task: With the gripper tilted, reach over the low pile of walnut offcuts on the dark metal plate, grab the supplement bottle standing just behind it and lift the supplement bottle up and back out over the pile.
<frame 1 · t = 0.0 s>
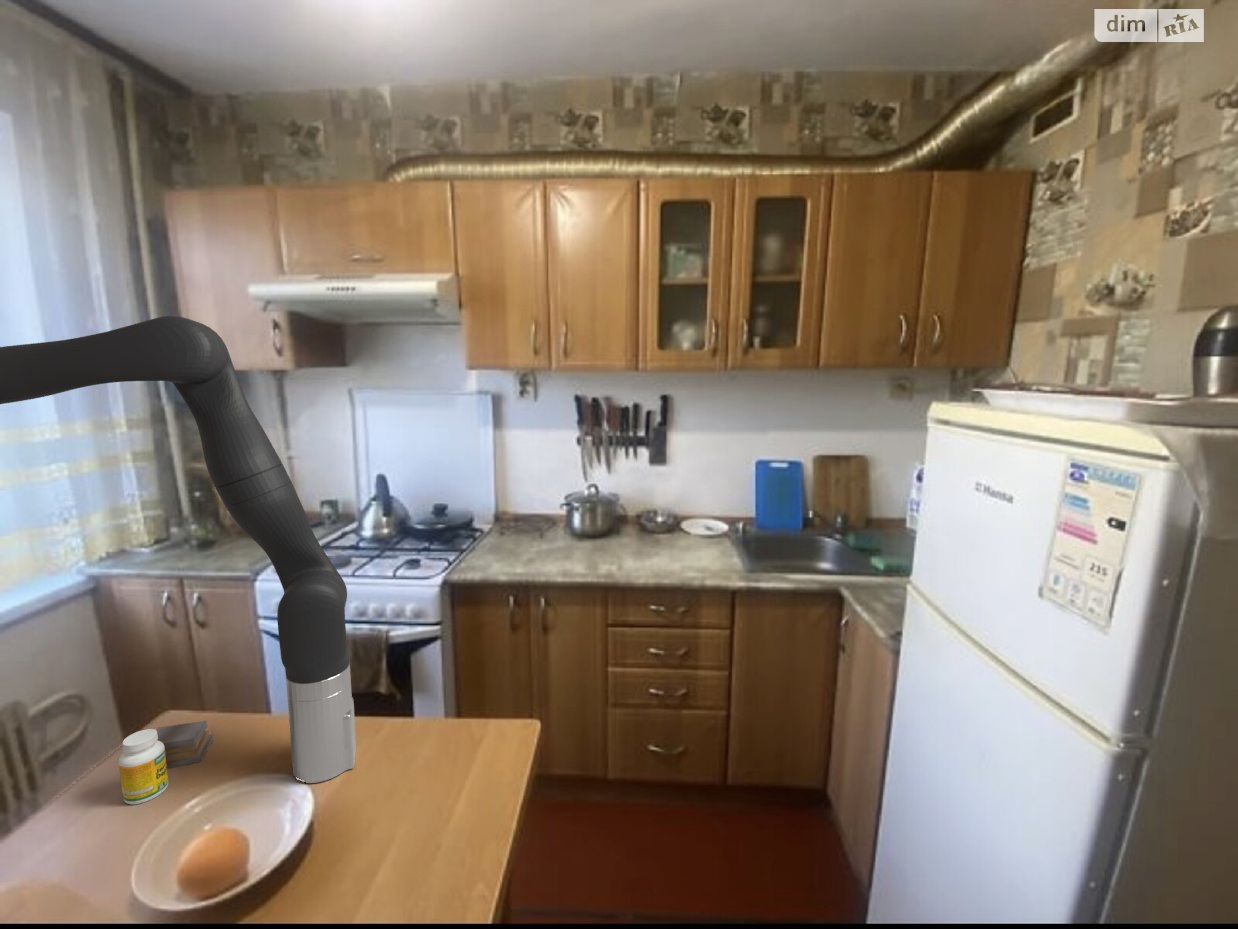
supplement bottle: (146, 794, 84), on the table
offcut stack: (176, 755, 92), on the table
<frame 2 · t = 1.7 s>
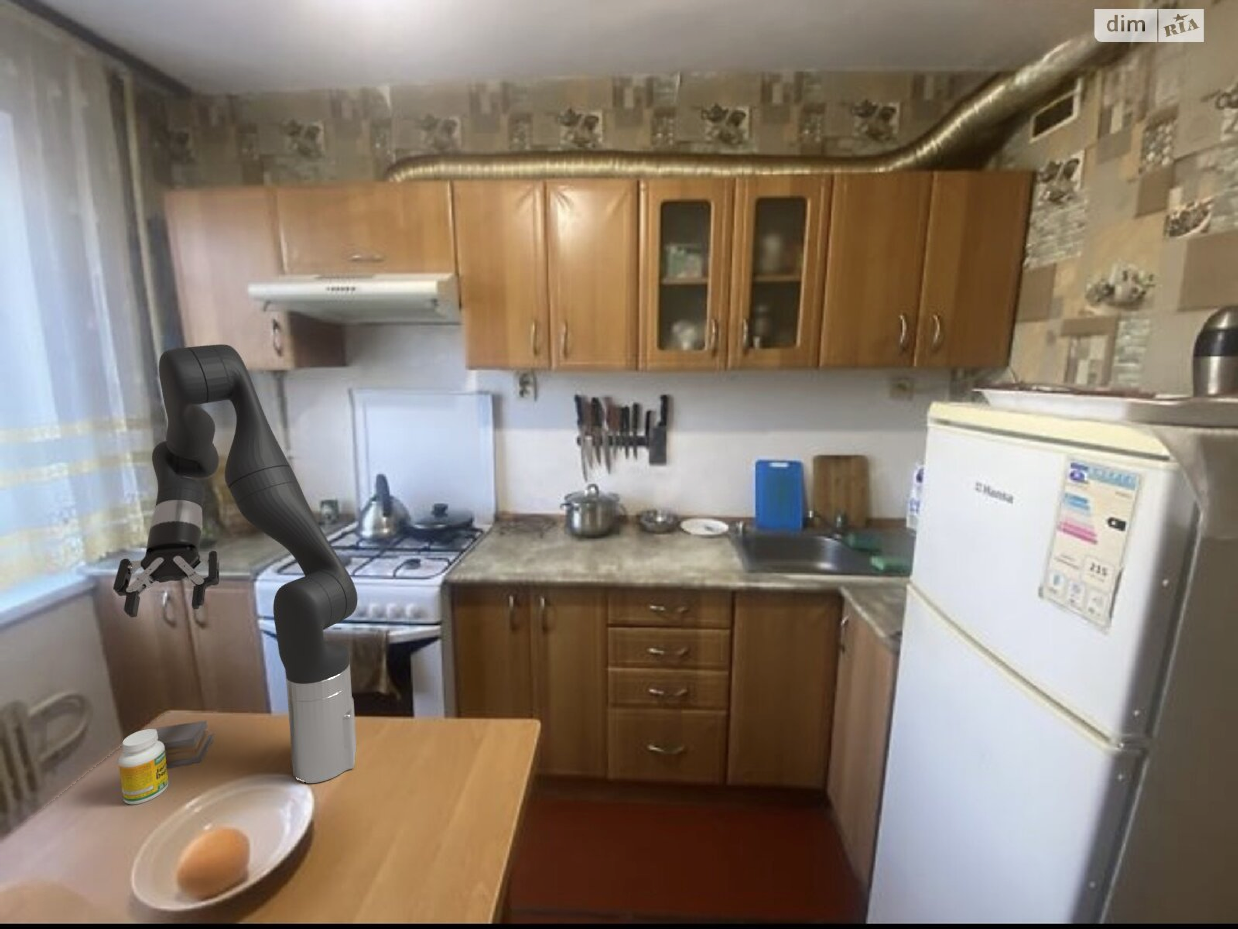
hand: (164, 611, 92), 25 cm above the table, tool tilted 45°, fingers open, 8 cm apart
nothing on the table moved.
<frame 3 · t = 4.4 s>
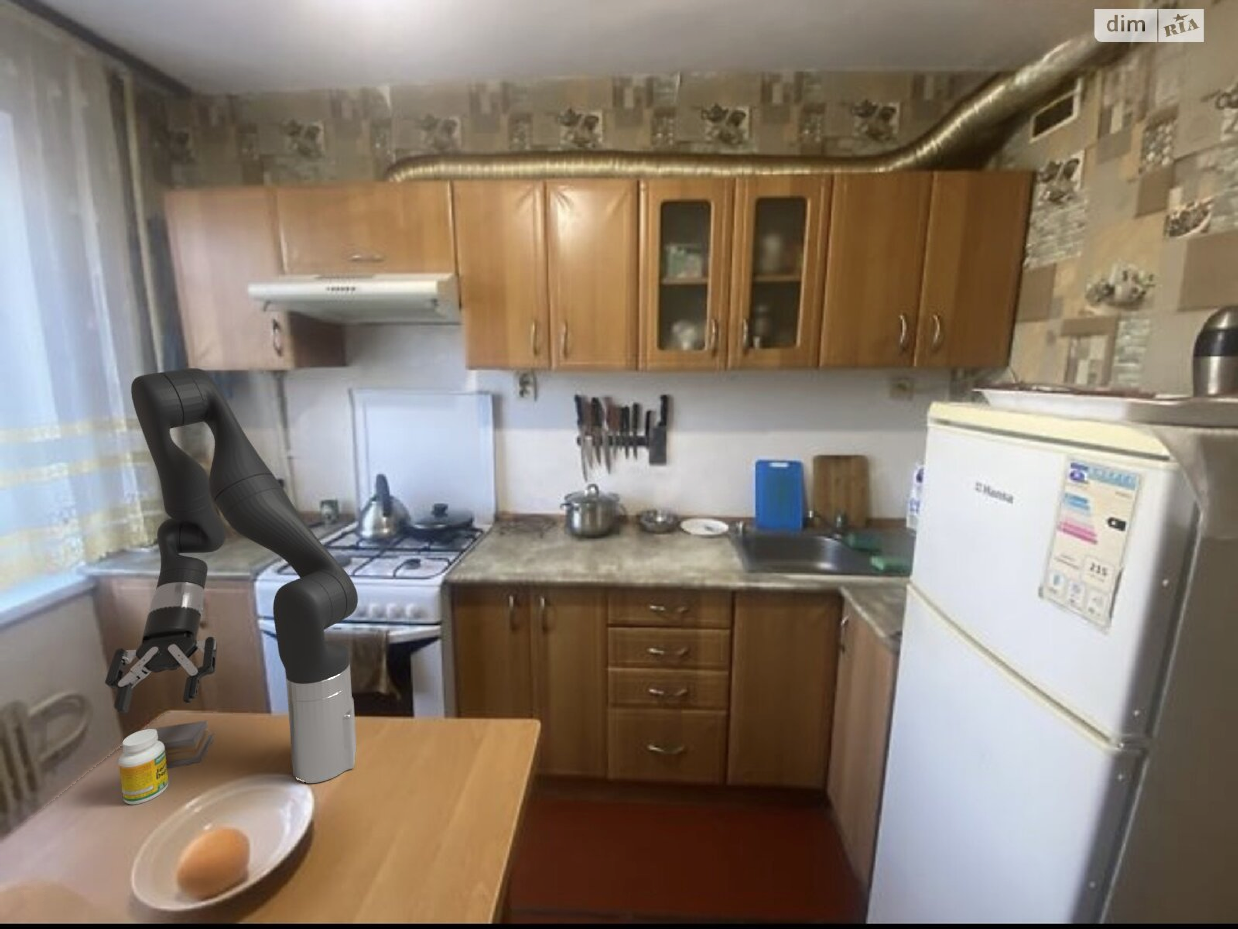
hand: (155, 706, 88), 11 cm above the table, tool tilted 45°, fingers open, 8 cm apart
nothing on the table moved.
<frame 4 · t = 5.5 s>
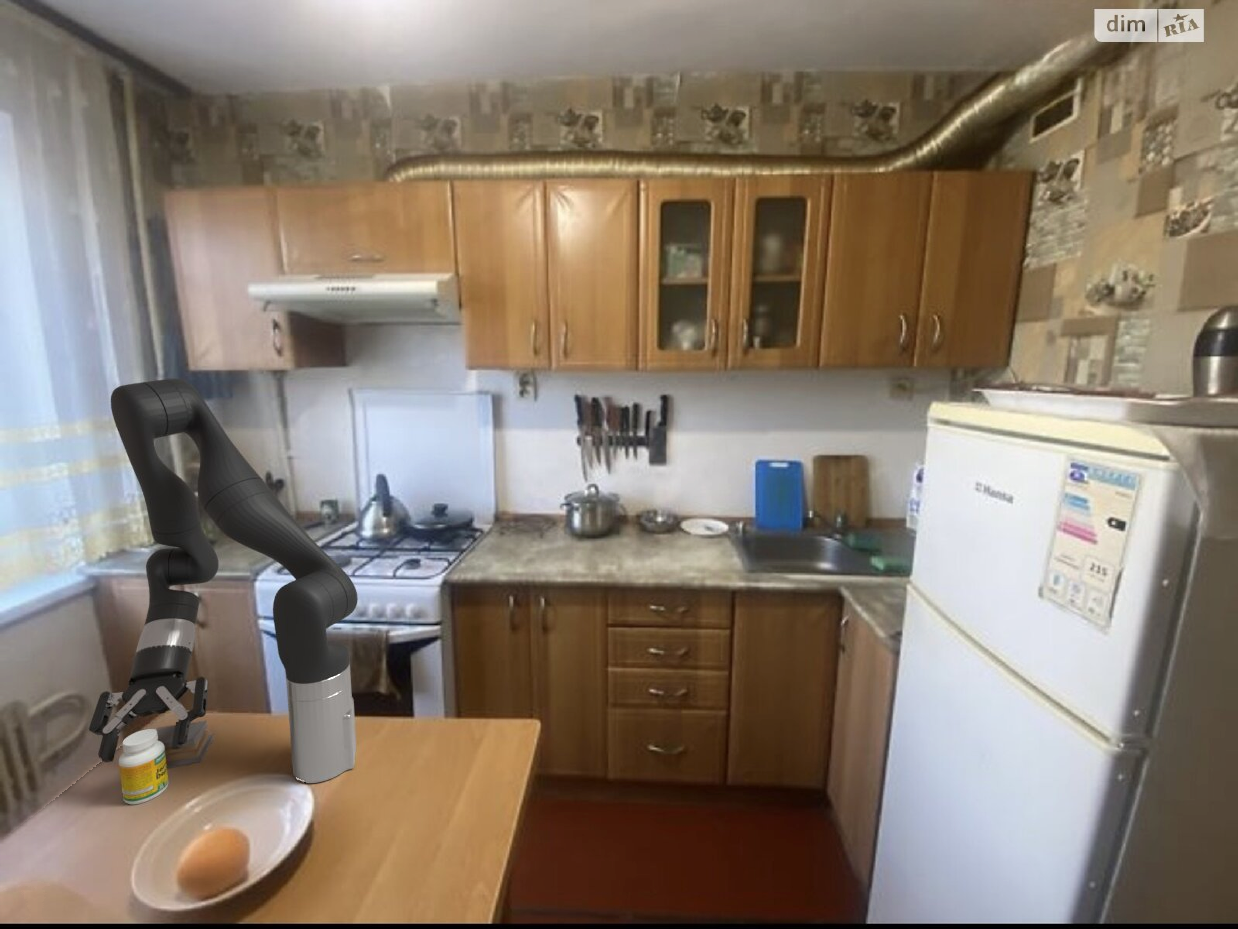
hand: (142, 754, 83), 6 cm above the table, tool tilted 45°, fingers open, 8 cm apart
nothing on the table moved.
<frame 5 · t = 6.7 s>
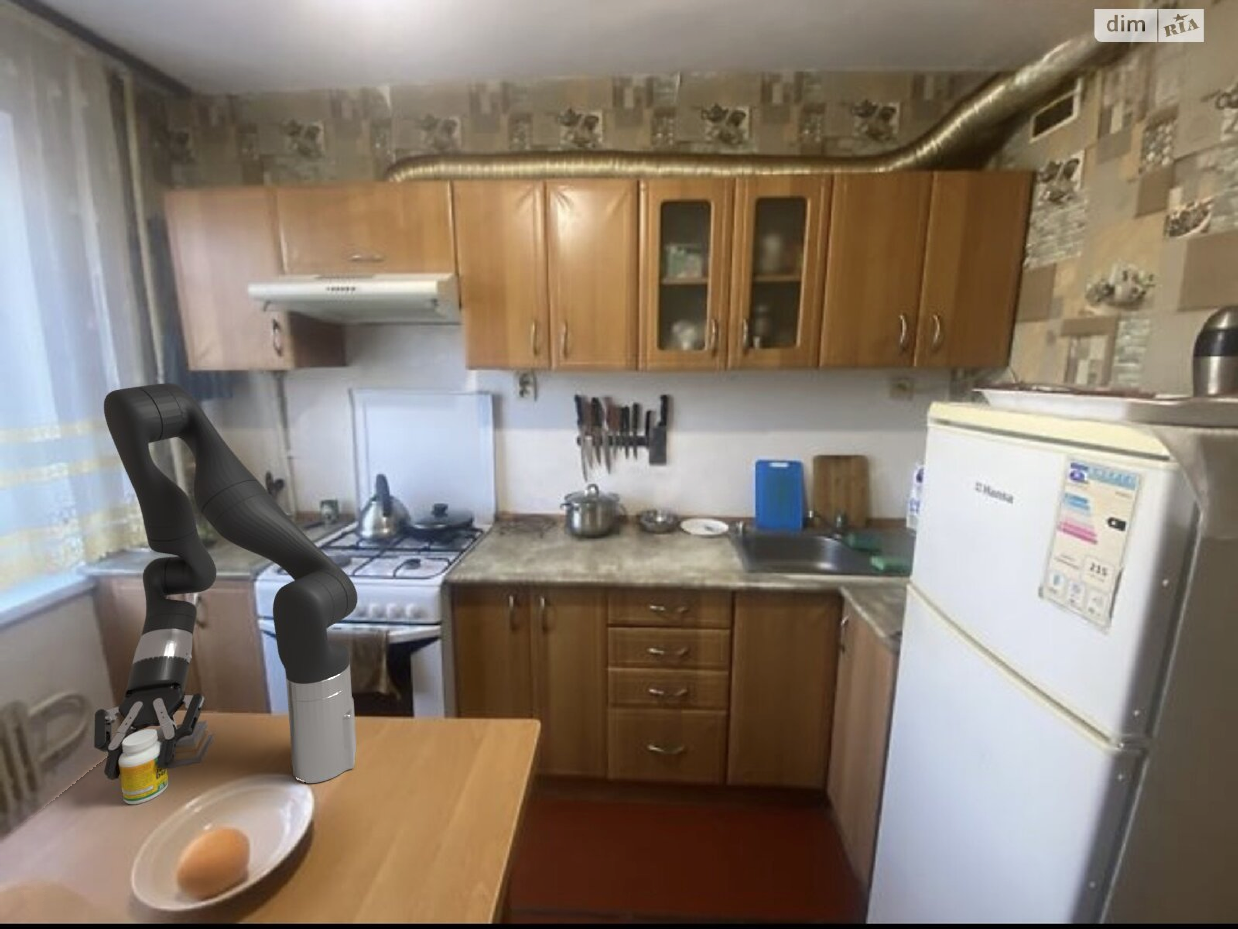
hand: (138, 772, 81), 5 cm above the table, tool tilted 45°, fingers closed on supplement bottle, 5 cm apart
supplement bottle: (146, 794, 84), on the table, touching gripper
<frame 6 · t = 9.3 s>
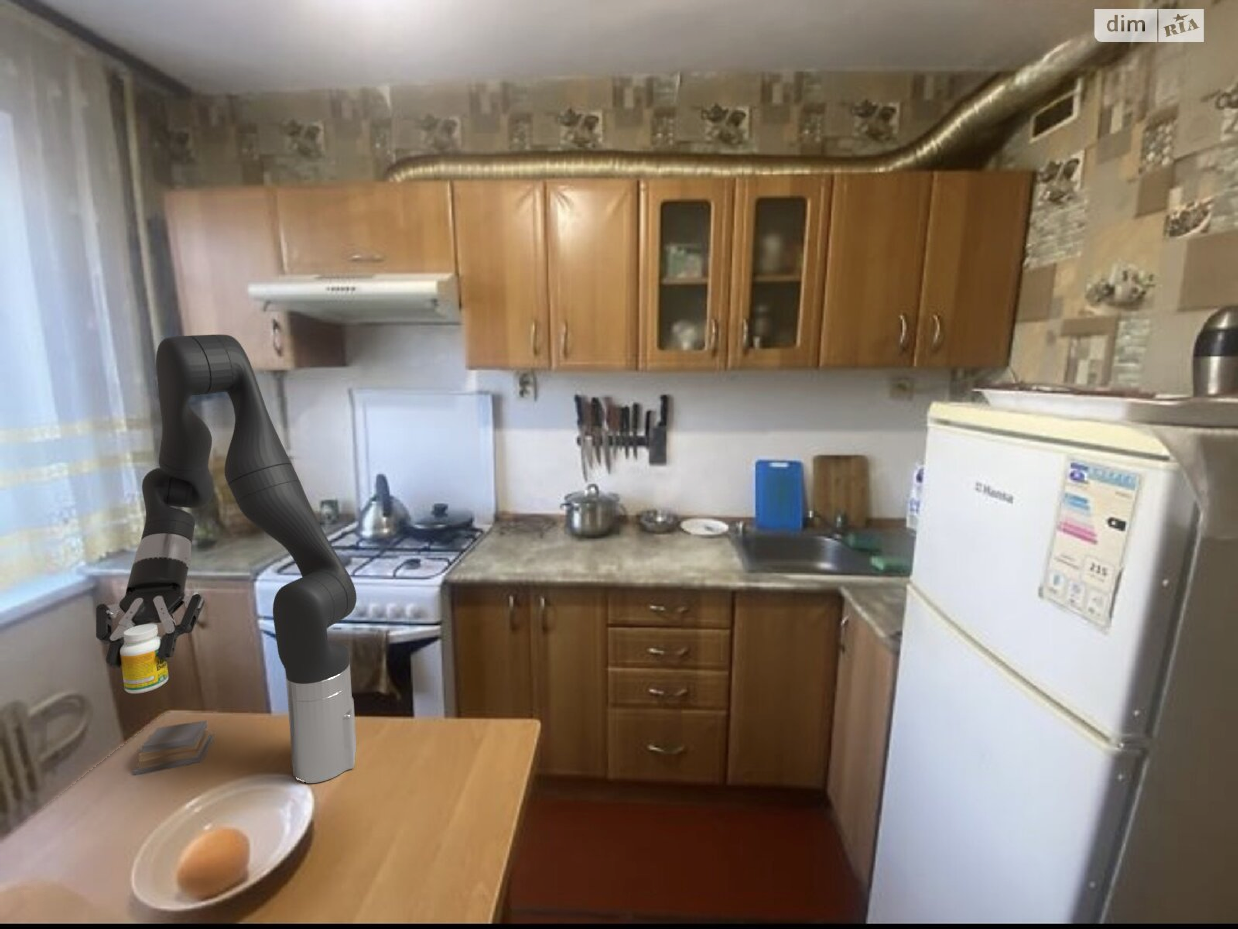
hand: (139, 662, 83), 20 cm above the table, tool tilted 45°, fingers closed on supplement bottle, 5 cm apart
supplement bottle: (147, 686, 86), point 15 cm above the table, touching gripper
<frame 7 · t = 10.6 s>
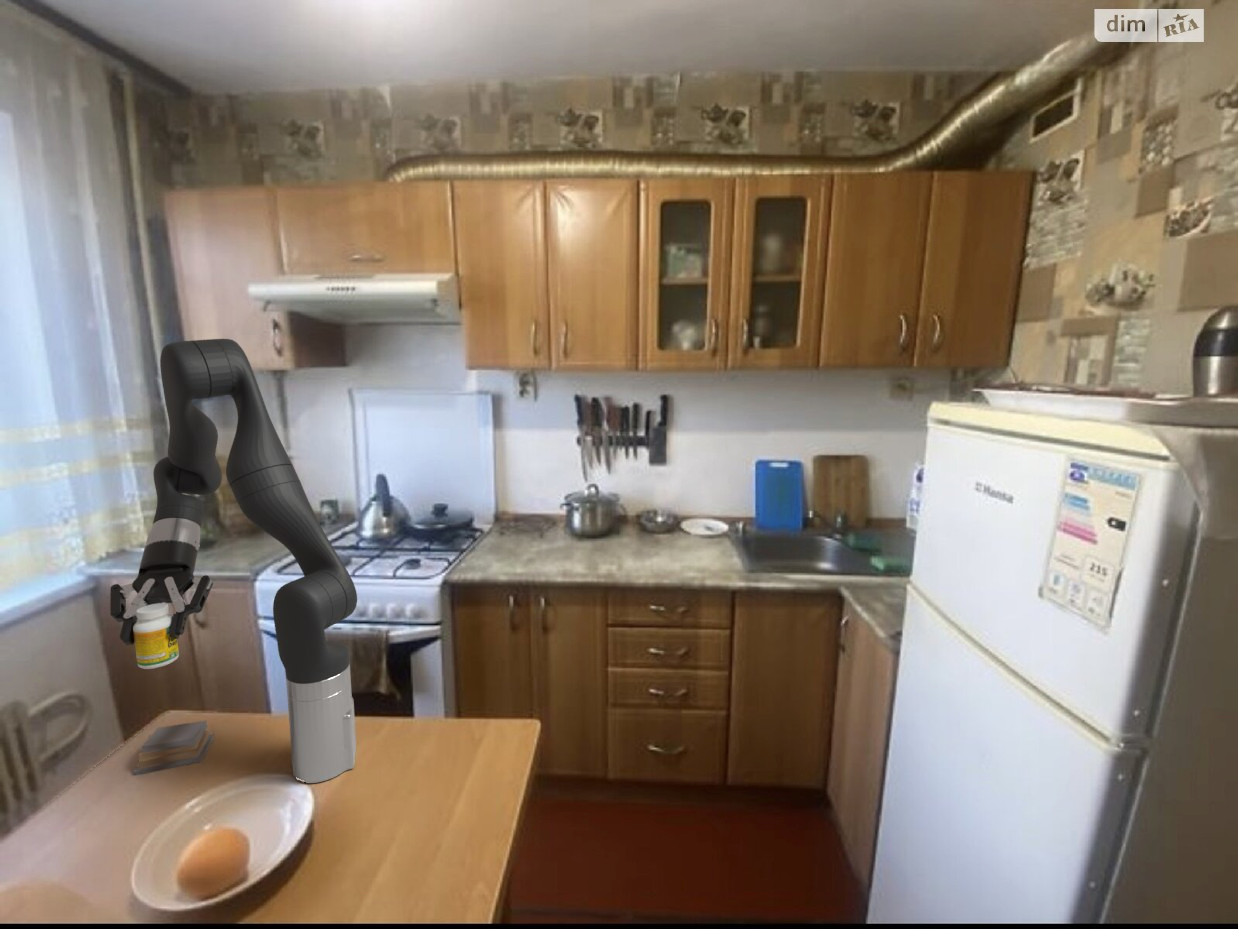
hand: (151, 639, 87), 22 cm above the table, tool tilted 45°, fingers closed on supplement bottle, 5 cm apart
supplement bottle: (159, 663, 90), point 17 cm above the table, touching gripper
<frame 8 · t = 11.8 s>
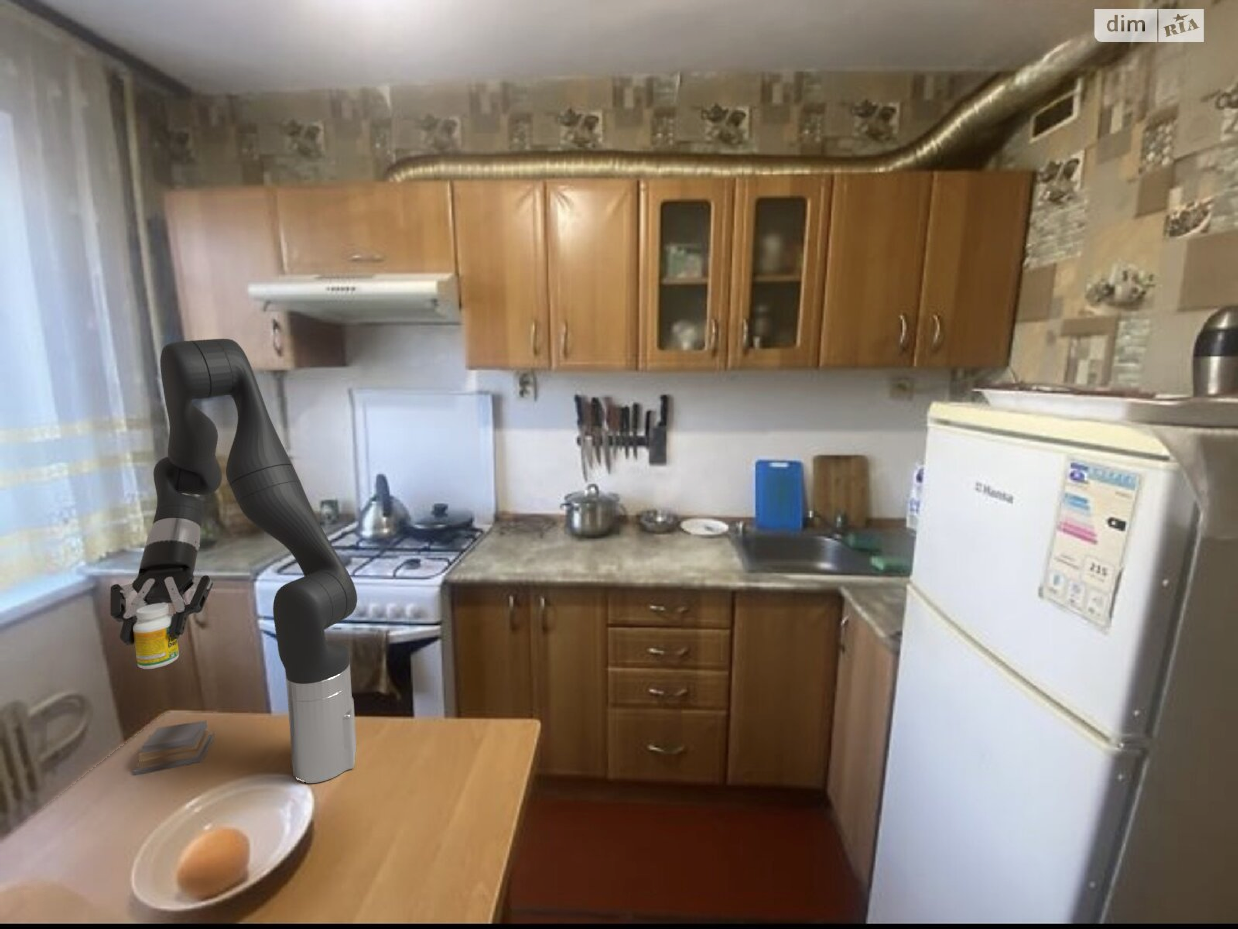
hand: (151, 639, 87), 22 cm above the table, tool tilted 45°, fingers closed on supplement bottle, 5 cm apart
supplement bottle: (159, 663, 90), point 17 cm above the table, touching gripper
at the end: supplement bottle point 17.1 cm above the table; the gripper is holding supplement bottle; supplement bottle tilted 0° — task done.
